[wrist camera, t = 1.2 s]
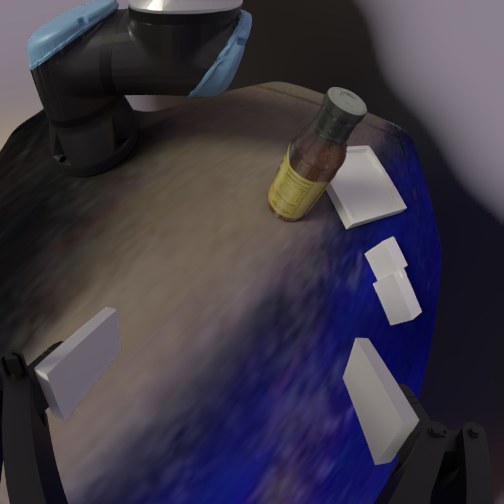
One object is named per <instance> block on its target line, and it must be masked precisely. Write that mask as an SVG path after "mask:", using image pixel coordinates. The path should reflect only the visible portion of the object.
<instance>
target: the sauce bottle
mask: <svg viewBox="0 0 504 504" xmlns="http://www.w3.org/2000/svg"><path fill="white" fill-rule="evenodd" d="M366 113H367V109H366V105H365V103H364V102H363V101H362V100H361V99H360V98H359V97H358V96H357V95H355V94H354V93H352V92H350V91H348V90H346V89H342V88H338V87H332V88H330V89H329V90H328V91H327V93H326V95H325V96H324V98H323V104H322V107H321V108H320V110H319V112H318V114H317V116H316V117H315V118H314V120H313V121H312V122H311V123H310V124H308V125H307V126H306V127H305V128H303V129H302V130H301V131H299V132H298V133H297V134H296V135H295V136H294V137H293V138H292V140H291V142H290V144H289V146H288V149H287V151H286V153H285V155H284V157H283V160H282V162H281V164H280V166H279V168H278V171H277V173H276V175H275V177H274V180H273V182H272V184H271V186H270V189H269V192H268V205H269V208H270V210H271V212H272V213H273V214H274V215H275V216H277V217H278V218H279V219H281V220H283V221H296V220H299V219H301V218H303V216H304V215H305V214H307V213H308V212H309V210H310V209H311V208H312V207H313V205H314V204H315V203H316V201H317V200H318V199H319V197H320V196H321V195H322V193H323V192H324V191H325V189H326V188H327V187H328V185H329V184H330V183H331V181H332V180H333V179H334V177H335V176H336V174H337V171H338V170H339V169H340V167H341V166H342V165H343V163H344V161H345V159H346V153H347V144H346V140H348V138H349V135H350V134H351V132H352V130H353V129H354V127H355V126H356V125H357V124H358V123H359V122H361V120H362V119H363V118H364V116H365V115H366Z"/></svg>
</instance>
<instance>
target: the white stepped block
mask: <svg viewBox="0 0 504 504" xmlns="http://www.w3.org/2000/svg"><path fill="white" fill-rule="evenodd" d="M365 255H366V257H367V260H368V262H369V264H370V266H371V268H372V270H373V272H374V274H375V276H376V278H377V282H375V283H373V286H374V288H375V290H376V292H377V295H378V297H379V299H380V301H381V304H382V306H383V308H384V311H385V313H386V315H387V318H388V320H389V323H390V325H394V324H398V323H402V322H406V321H410V320H413V319H414V318H415V317H417V316H418V315H419V314H420V313H421V312H422V311H421V308H420V306H419V303H418V301H417V299H416V296H415V294H414V291H413V289H412V287H411V284H410V282H409V280H408V278H407V274H406V272H405V270H404V267H406V266H407V263H406V261H405V259H404V256H403V254H402V252H401V250H400V248H399V246H398V244H397V242H396V240H395V238H394V236H393V237H391V238H389V239H387V240H384V241H383V242H381V243H380V244H378V245H377V246H375V247H374V248H372V249H371V250H369V251H368V252H366V253H365Z"/></svg>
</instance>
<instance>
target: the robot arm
mask: <svg viewBox="0 0 504 504" xmlns="http://www.w3.org/2000/svg"><path fill="white" fill-rule="evenodd" d="M242 1H243V0H129V4H128V5H129V6H128V7H129V8H128V9H117V8H118V7H119V4H118V3H117V0H95V1H92V2H89V3H86V4H83V5H80V6H78V7H75V8H73V9H71V10H69V11H67V12H65V13H63V14H61V15H59V16H57V17H55V18H54V19H52V20H50V21H49V22H47V23H46V24H45V25H43V26H42V27H41V28H39V29H38V30H37V31H36V32H35V33H34V34H33V35H32V36H31V38H30V40H29V42H28V44H27V53H28V59H29V64H30V66H29V69H30V70H31V73H32V76H33V80H34V83H35V86H36V89H37V91H38V94H39V97H40V100H41V102H42V105H43V108H44V110H45V113H46V115H47V118H48V120H49V123H50V151H51V155H52V158H53V160H54V162H55V164H56V166H57V167H58V169H59V170H60V171H61V172H63V173H65V174H67V175H70V176H74V177H86V176H92V175H95V174H99V173H101V172H104V171H106V170H108V169H110V168H112V167H113V166H115V165H116V164H118V163H119V162H121V161H122V160H123V159H124V158H125V157H126V156H127V155H128V154H129V153H130V152H131V150H132V149H133V148H134V146H135V144H136V142H137V139H138V135H139V128H138V120H137V116H136V114H135V112H134V110H133V109H132V107H131V105H130V104H129V102H128V100H127V99H126V97H125V95H172V96H184V97H186V98H188V97H192V96H202V97H203V96H204V97H214V96H217V95H219V94H221V93H223V92H224V91H225V90H226V89H227V88H228V86H229V85H230V83H231V81H232V79H233V77H234V75H235V72H236V70H237V68H238V65H239V63H240V60H241V57H242V55H243V52H244V47H245V46H244V44H245V43H246V41H247V38H248V36H249V32H250V28H251V23H252V17H251V15H250V14H249V13H247V12H246V11H244V10H240V9H241V5H242ZM121 350H122V349H121V341H120V333H119V324H118V313H117V309H114V308H109V307H105V308H104V309H103V310H101V311H100V312H99V313H98V314H96V315H95V316H94V317H93V318H92V319H90V320H89V321H88V322H87V323H86V324H84V325H83V326H82V327H81V328H80V329H78V330H77V331H76V332H75V333H74V334H72V335H71V336H70V337H69V338H68V339H67V340H65V341H64V342H63V341H60V342H58V343H55V344H53V345H52V346H51V347H49V348H48V349H47V351H45V352H43V353H42V355H40V356H39V357H38V358H37V359H35V360H34V361H33V362H32V363H31V364H30V365H28V366H27V365H26V362H25V359H24V356H23V354H22V353H21V352H18V351H9V352H6V353H4V354H3V355H2V356H1V357H0V364H1V367H2V369H3V371H0V481H1V473H2V465H3V459H4V469H5V477H6V484H7V490H8V496H9V501H10V504H68V502H67V499H66V496H65V493H64V490H63V486H62V483H61V480H60V476H59V472H58V469H57V465H56V461H55V456H54V452H53V447H52V442H51V437H50V431H49V425H48V418H47V414H46V412H45V410H46V409H47V408H48V407H49V408H50V410H51V412H52V414H53V416H55V417H57V418H59V419H61V420H63V421H65V422H66V420H67V419H68V418H69V416H70V415H71V414H72V412H73V411H74V410H75V408H76V407H77V406H78V405H79V403H80V402H81V401H82V399H83V398H84V397H85V395H86V394H87V393H88V392H89V390H90V389H91V388H92V387H93V385H94V384H95V383H96V381H97V380H98V379H99V378H100V376H101V375H102V374H103V373H104V371H105V370H106V369H107V368H108V366H109V365H110V364H111V363H112V361H113V360H114V359H115V358H116V357H117V355H118V354H119V353H120V352H121ZM343 379H344V382H345V384H346V387H347V389H348V392H349V395H350V397H351V400H352V402H353V405H354V408H355V410H356V413H357V416H358V418H359V421H360V424H361V426H362V429H363V432H364V435H365V437H366V440H367V443H368V446H369V449H370V451H371V454H372V457H373V460H374V463H375V465H378V464H383V463H389V462H391V461H392V460H393V458H394V457H395V456H396V454H397V456H398V458H399V461H398V462H397V464H396V465H395V466H394V467H393V469H392V470H391V471H390V472H389V474H391V475H390V477H389V479H388V480H387V482H386V484H385V486H384V488H383V489H382V491H381V493H380V494H379V496H378V498H377V499H376V501H375V503H374V504H427V502H428V500H429V497H430V495H431V501H430V504H494V502H493V485H492V474H491V465H490V458H489V452H488V445H487V440H486V435H485V431H484V429H483V428H482V427H481V426H480V425H479V424H477V423H474V422H469V423H467V424H465V425H464V427H463V428H462V429H461V431H448V430H447V428H446V427H445V426H444V425H443V424H441V423H439V422H434V421H432V422H431V420H430V418H429V417H428V415H427V414H426V412H425V410H424V409H423V407H422V406H421V404H420V403H419V401H418V400H417V398H415V395H414V393H413V392H412V390H411V389H410V388H408V387H407V386H406V385H405V384H397V383H396V381H395V379H394V378H393V376H392V375H391V373H390V371H389V370H388V368H387V367H386V365H385V364H384V362H383V360H382V359H381V357H380V356H379V354H378V353H377V351H376V350H375V348H374V347H373V345H372V344H371V342H370V341H369V339H368V338H355V342H354V345H353V348H352V352H351V355H350V358H349V361H348V364H347V367H346V370H345V373H344V376H343Z"/></svg>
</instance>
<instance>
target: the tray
mask: <svg viewBox="0 0 504 504" xmlns="http://www.w3.org/2000/svg"><path fill="white" fill-rule="evenodd" d="M326 191H327V193H328V195H329V197H330V199H331V200H332V202H333V204H334V206H335V208H336V210H337V212H338V214H339V216H340V218H341V220H342V222H343V224H344V226H345V228H346V229H349V228H353V227H356V226H359V225H362V224H366V223H369V222H372V221H375V220H379V219H382V218H385V217H388V216H392V215H395V214H398V213H401V212H402V211H404V210H405V209H406V208H407V207H406V205H405V203H404V202H403V200H402V198H401V196H400V195H399V193H398V191H397V189H396V188H395V186H394V184H393V183H392V181H391V179H390V178H389V176H388V174H387V173H386V171H385V169H384V168H383V166H382V165H381V163H380V162H379V160H378V159H377V157H376V156H375V154H374V153H373V151H372V150H371V148H370V147H369V146H351V147H347V153H346V159H345V161H344V163H343V165H342V166H341V167H340V169H339V170H338V171H337V174H336V176H335V177H334V179H333V180H332V181H331V183H330V184H329V185H328V187H327V188H326Z"/></svg>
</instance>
